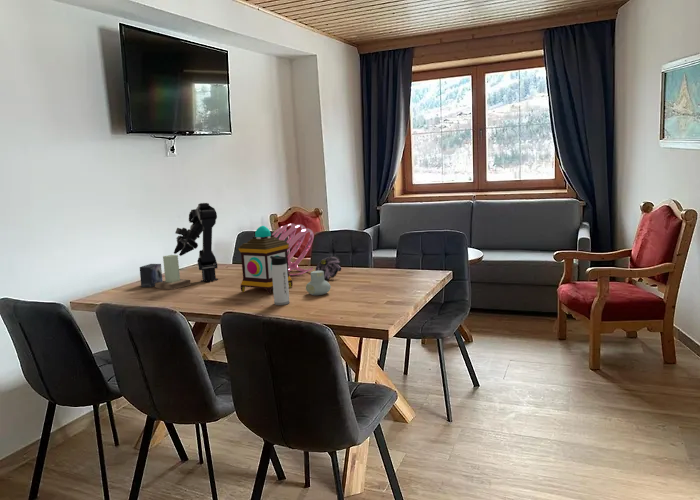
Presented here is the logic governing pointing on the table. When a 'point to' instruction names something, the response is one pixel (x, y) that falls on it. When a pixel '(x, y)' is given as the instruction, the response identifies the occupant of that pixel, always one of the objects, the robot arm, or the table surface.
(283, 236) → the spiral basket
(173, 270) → the sage block
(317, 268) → the decorative flower
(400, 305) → the table surface
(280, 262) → the travel mug
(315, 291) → the air freshener
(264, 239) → the decorative lantern
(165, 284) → the block
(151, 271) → the small box
